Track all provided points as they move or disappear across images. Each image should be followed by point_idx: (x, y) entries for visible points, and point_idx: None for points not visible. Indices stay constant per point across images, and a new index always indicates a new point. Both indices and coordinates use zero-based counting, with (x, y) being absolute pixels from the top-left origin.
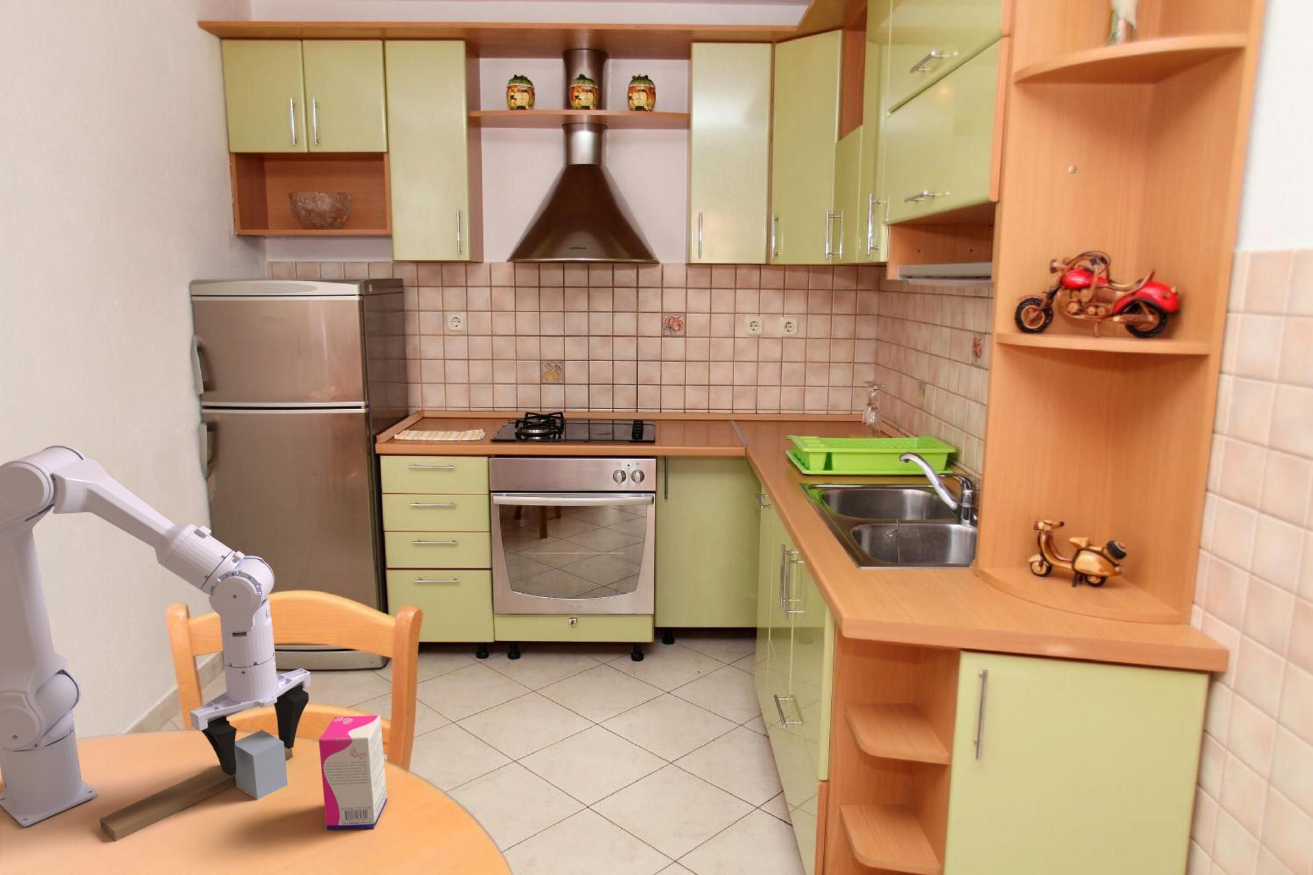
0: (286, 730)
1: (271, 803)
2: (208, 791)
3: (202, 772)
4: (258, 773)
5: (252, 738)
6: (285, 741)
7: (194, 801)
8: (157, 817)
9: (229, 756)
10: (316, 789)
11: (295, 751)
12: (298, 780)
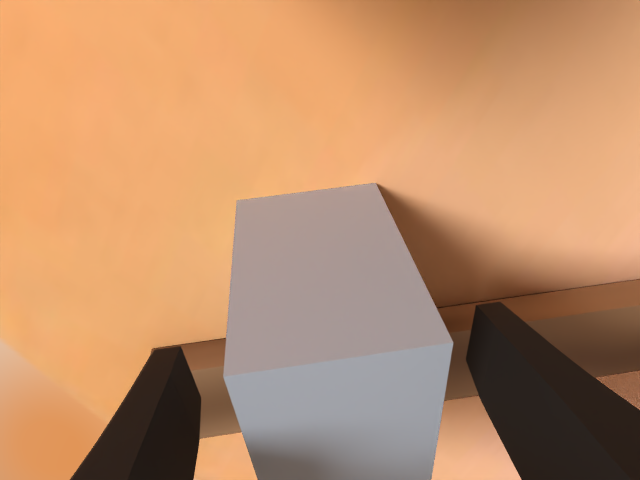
0: (161, 459)
1: (353, 113)
2: (470, 318)
3: None
4: (392, 253)
5: (343, 471)
6: (183, 394)
7: (512, 303)
8: (630, 289)
9: (591, 388)
10: (135, 61)
11: (132, 370)
12: (186, 199)
